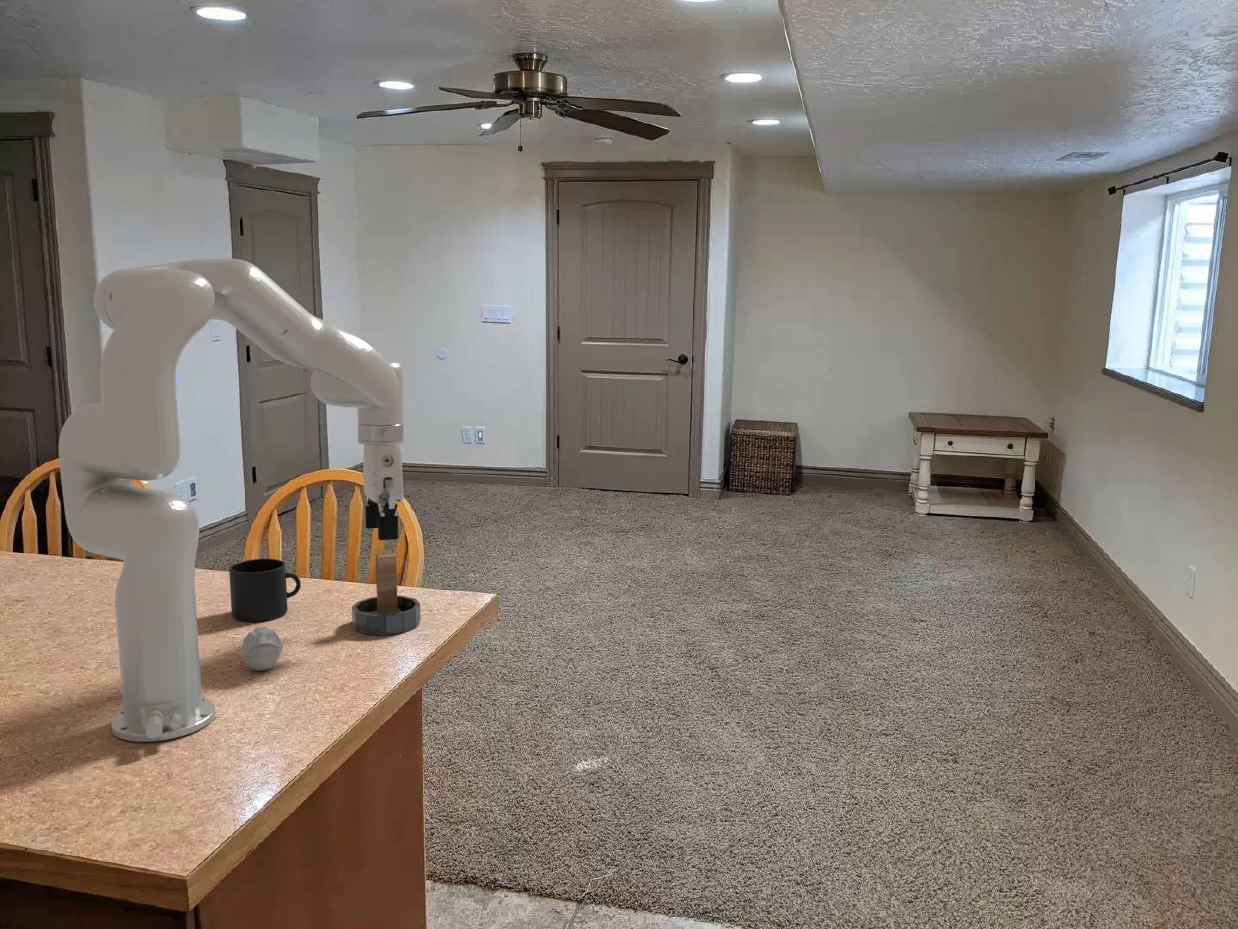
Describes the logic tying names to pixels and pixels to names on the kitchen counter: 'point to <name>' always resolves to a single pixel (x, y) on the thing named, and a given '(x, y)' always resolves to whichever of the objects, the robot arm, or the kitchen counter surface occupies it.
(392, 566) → the brown rectangular bar
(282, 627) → the kitchen counter surface
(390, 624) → the dark grey round tray
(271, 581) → the mug
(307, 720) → the kitchen counter surface
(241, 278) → the robot arm
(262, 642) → the frog figurine
